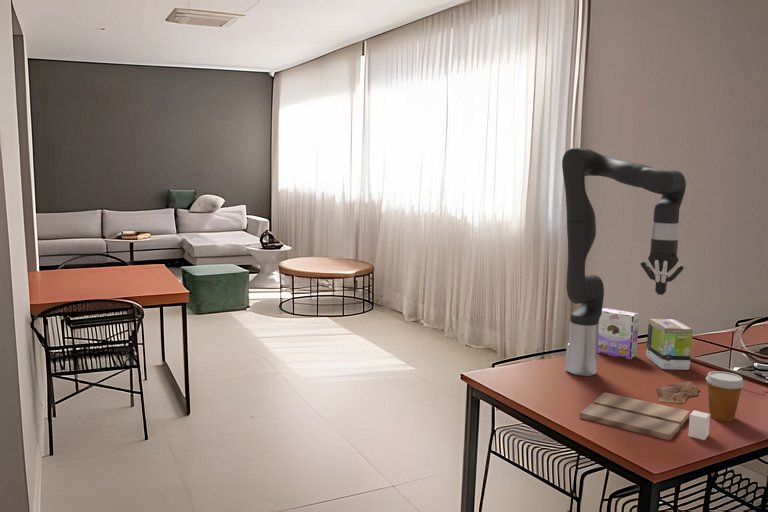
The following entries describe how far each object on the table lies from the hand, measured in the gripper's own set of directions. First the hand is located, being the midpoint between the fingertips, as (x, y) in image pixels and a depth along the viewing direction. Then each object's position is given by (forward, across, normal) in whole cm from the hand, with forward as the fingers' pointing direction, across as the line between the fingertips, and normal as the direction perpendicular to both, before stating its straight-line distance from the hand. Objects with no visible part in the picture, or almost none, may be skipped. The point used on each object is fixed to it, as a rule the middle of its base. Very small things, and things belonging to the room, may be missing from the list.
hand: (660, 294), depth 203 cm
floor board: (+31, +2, -30) cm, 44 cm away
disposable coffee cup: (+31, +21, -9) cm, 39 cm away
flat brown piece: (+32, +6, +5) cm, 33 cm away
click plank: (+31, +2, -20) cm, 37 cm away
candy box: (+31, -23, +33) cm, 51 cm away
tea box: (+31, -5, +34) cm, 46 cm away
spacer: (+31, +19, -27) cm, 45 cm away
